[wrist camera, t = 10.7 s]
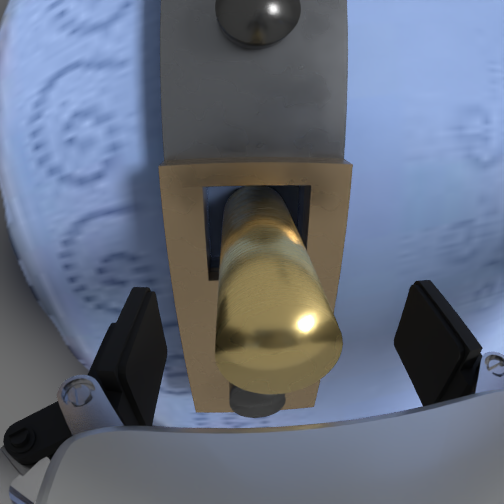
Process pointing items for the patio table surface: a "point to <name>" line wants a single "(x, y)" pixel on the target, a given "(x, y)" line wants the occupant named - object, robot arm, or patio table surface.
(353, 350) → the patio table surface
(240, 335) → the pin
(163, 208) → the peg insertion board
